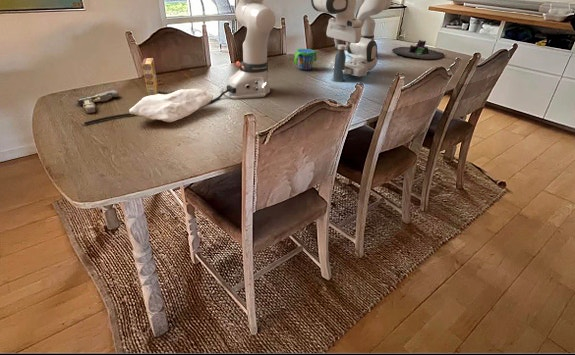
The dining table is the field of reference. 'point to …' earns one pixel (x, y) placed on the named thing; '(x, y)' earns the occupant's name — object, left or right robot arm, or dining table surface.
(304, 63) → the snack cup
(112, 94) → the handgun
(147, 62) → the candy box
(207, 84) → the dining table surface
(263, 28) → the left robot arm
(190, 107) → the crumpled cloth
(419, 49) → the dark round tray
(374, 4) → the right robot arm
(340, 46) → the cap
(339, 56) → the bottle
